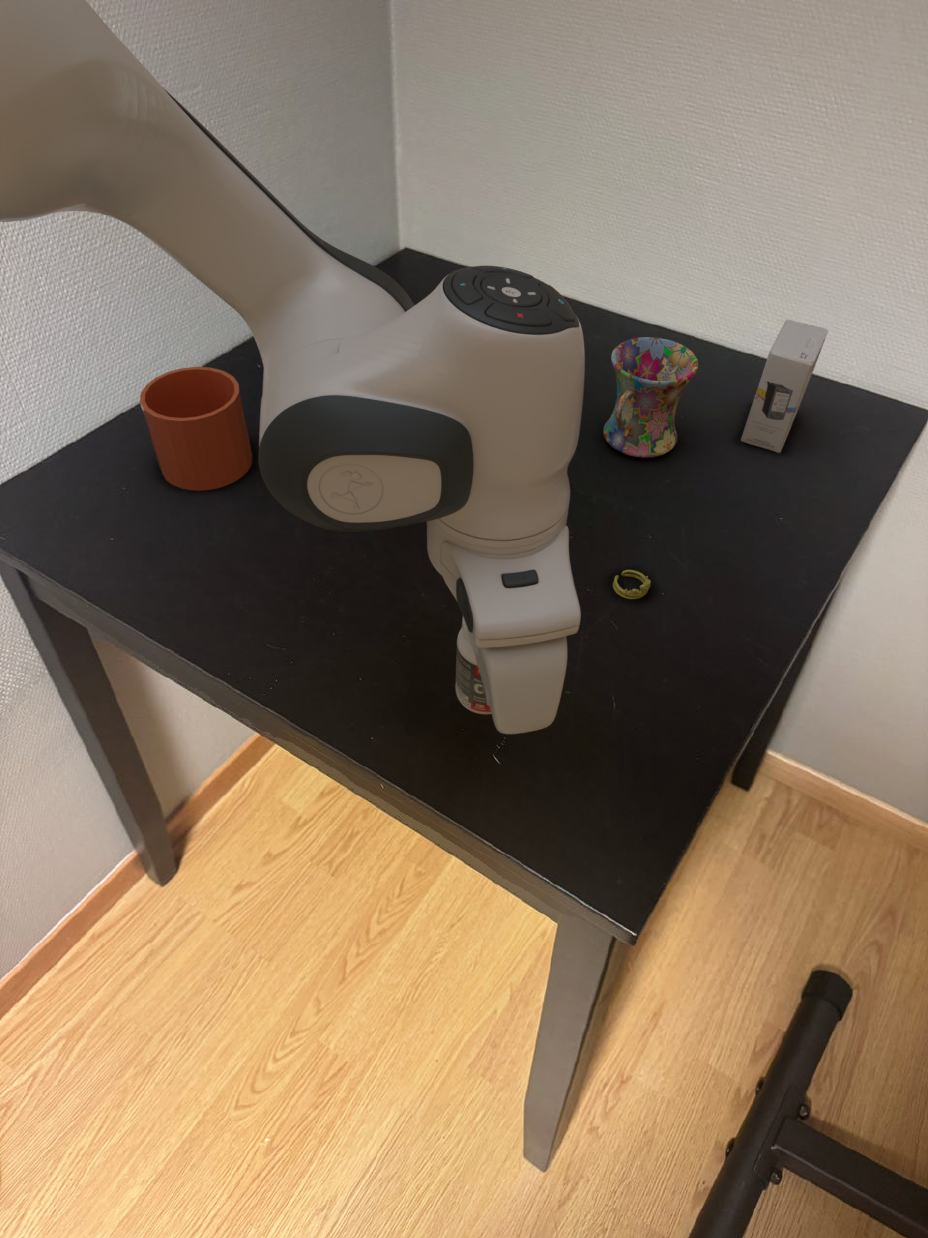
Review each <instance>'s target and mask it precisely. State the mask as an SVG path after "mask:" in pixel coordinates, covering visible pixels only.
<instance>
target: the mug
mask: <svg viewBox="0 0 928 1238" xmlns="http://www.w3.org/2000/svg"><path fill="white" fill-rule="evenodd" d="M610 360H611V364H612V366H613V370H614V374H615V380H616V381H615V382H616V398H615V399H616V400H615V404H614V408H613V411H612V413H611V415H610V417H609V418H608V419H607V421H606V422H605V423H604V426H603V428H602V429H603V431H602V433H603V437H604V439H605V441H606V442H607V445H609V446H610V447H611V448H612V449H614V450H616V451H618V452H619V453H621V454H624V455H627V456H629V457H635V458H655V457H660V456H663V455H665V454H667V453H669V452H670V451H671V450H673V449H674V447H675V446H676V444H677V442H678V433H677V430H676V426H675V418H676V417H675V416H676V410H677V408H678V403H679V401H680V398H681V396H682V394H683V392H684V391H685V389H686V387H687V386H688V384H689V383H690V381H691V380H692V378H694V376H696V374H697V372H698V370H699V359H698V358H697V356H696V354H694V352H693V351H692V350H690V349H689V348H688V347H687V346H684V345H683V344H681V343H679V342H676V341H674V340H671V339H666V338H663V337H662V338H661V337H653V336H645V337H643V336H641V337H634V338H630V339H627V340H625V341H623V342H621V343H619V344H618V345H616V346H615V347H614V349H613V350H612V352H611V355H610Z"/></svg>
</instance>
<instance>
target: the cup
mask: <svg viewBox="0 0 928 1238" xmlns="http://www.w3.org/2000/svg"><path fill="white" fill-rule="evenodd" d="M139 404H140V407H141V411H142V414H143V417H144V421H145V423H146V426H147V427H146V428H147V430H148V434H149V437H150V440H151V443H152V448H153V451H154V455H155V456H156V461H157V464H158V468H159V469H160V473H161V475H162V477H163V478H164V480H165V481H166V482H168V483H169V484H171V485H172V486H174V487H177V488H179V489H183V490H188V491H210V490H217V489H221V488H223V487H226V486H228V485H230V484H233V483H235V482H237V481H239V480H241V478H242V477H244V476H245V475H246V474H247V473H248V472H249V470H250V468H251V467H252V464H253V460H254V458H253V457H254V455H253V451H252V445H251V439H250V434H249V430H248V423H247V419H246V414H245V410H244V403H243V398H242V394H241V389H240V385H239V382H238V380H236V378H235V376H234V375H232V374H230V373H228V372H227V371H224V370H222V369H218V368H214V367H208V366H190V367H182V368H178V369H174V370H169V371H166V372H165V373H162V374H160V375H158V376H156V377H154V378H153V379H151V380H150V381H149V382H148V383H147V384H145V386H144V387H143V389H142V391H141V392H140V395H139Z"/></svg>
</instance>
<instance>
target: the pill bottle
mask: <svg viewBox="0 0 928 1238" xmlns="http://www.w3.org/2000/svg"><path fill="white" fill-rule="evenodd" d="M455 656H456V657H455V658H456V659H455V660H456V661H455V694H456V697H457V699H458V701H459V703H460V704H461V705H462V706H463V707H464V708H466V709H467V710H468V711H470V712H472V713H475V714H478V715H479V714H480V715H492V713H491V710H490V706H488V705H487V703H486V699H485V695H484V691H483V682H482V679H481V675H480V672H479V668H478V665H477V662H476V658H475V655H474V651H473V648H472V644H471V641H470V638H469V634H468V630H467V627H466V624H465V620H464V617H463V616H462V622H461V628H460V630H459V631H458V634H457V638H456V655H455Z"/></svg>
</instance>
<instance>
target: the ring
mask: <svg viewBox="0 0 928 1238" xmlns="http://www.w3.org/2000/svg"><path fill="white" fill-rule="evenodd" d="M620 574H621V576H622V577H632V578H635V579H637V580H639V581H641V583H642V584H641V585H639V589H637V588H632V589H630V590H628V588H625V589H623V588H622V587H621V586H620V584H619V583H618V580H619V578H620V575H615V576H614V578H613V582H612V588H613V590H614V592H615V593H616V594H617V595H618V596H620V597H622V598H624V599H626V600H627V599H628V600H637V599H642V598H643V597H644V596H645V595H646V594H647V593H648V591H649V589H650V588H651V581H652V580H651V579H649V576H648V575H646V576H645V574H643V573H642V572H640V571H638V570H634V569H625V570H623V571H622V572H621V573H620Z"/></svg>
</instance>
